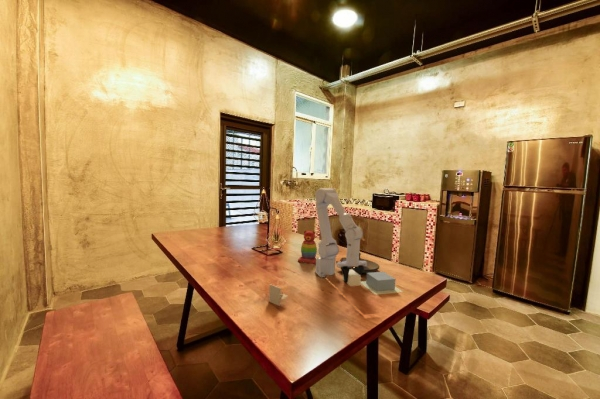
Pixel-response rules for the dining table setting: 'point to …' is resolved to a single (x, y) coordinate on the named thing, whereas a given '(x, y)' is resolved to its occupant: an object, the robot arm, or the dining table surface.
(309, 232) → the stacking bear
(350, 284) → the cream brick
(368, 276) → the blue base brick
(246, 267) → the dining table surface
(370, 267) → the dark shallow pan
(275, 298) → the grey tabbed plate
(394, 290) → the baseplate
